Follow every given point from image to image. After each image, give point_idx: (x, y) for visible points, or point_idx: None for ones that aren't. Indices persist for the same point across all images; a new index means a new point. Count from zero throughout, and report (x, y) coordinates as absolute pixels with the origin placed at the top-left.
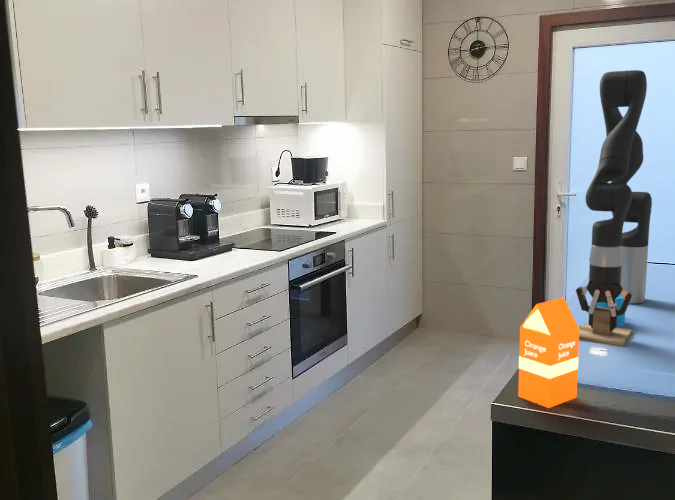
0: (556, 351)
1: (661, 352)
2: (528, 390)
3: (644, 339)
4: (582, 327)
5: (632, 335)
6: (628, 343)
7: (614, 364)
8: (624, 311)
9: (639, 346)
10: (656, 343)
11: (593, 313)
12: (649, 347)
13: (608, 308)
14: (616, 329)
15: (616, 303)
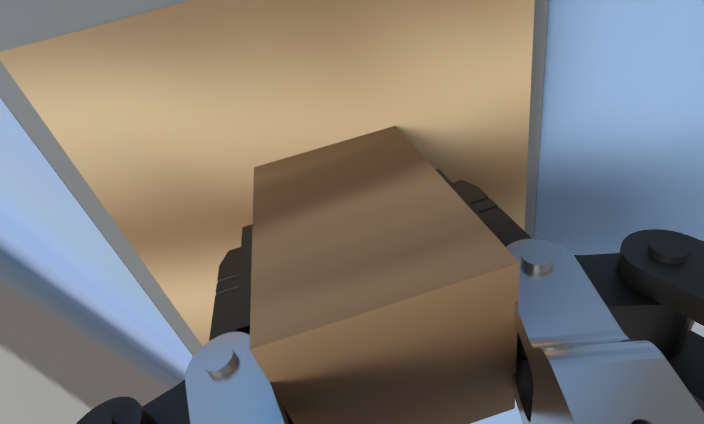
0: None
1: (692, 200)
2: None
3: (617, 8)
4: (128, 202)
5: (536, 15)
6: (534, 220)
7: (515, 421)
8: (691, 352)
9: (586, 190)
10: (692, 51)
11: None
12: (640, 167)
13: (448, 302)
14: (405, 33)
15: (655, 352)
